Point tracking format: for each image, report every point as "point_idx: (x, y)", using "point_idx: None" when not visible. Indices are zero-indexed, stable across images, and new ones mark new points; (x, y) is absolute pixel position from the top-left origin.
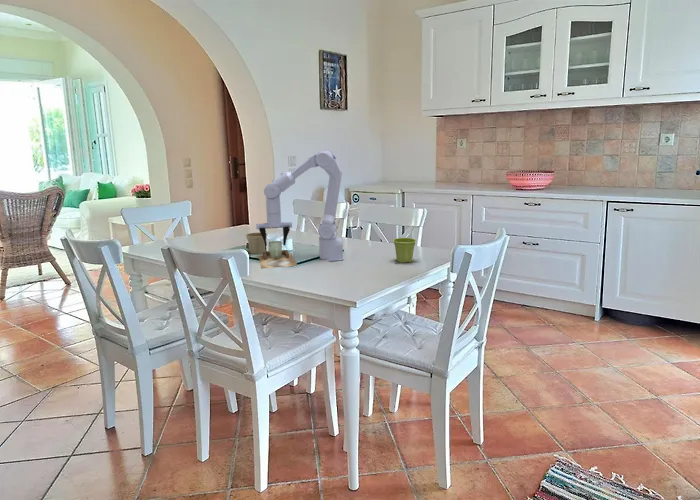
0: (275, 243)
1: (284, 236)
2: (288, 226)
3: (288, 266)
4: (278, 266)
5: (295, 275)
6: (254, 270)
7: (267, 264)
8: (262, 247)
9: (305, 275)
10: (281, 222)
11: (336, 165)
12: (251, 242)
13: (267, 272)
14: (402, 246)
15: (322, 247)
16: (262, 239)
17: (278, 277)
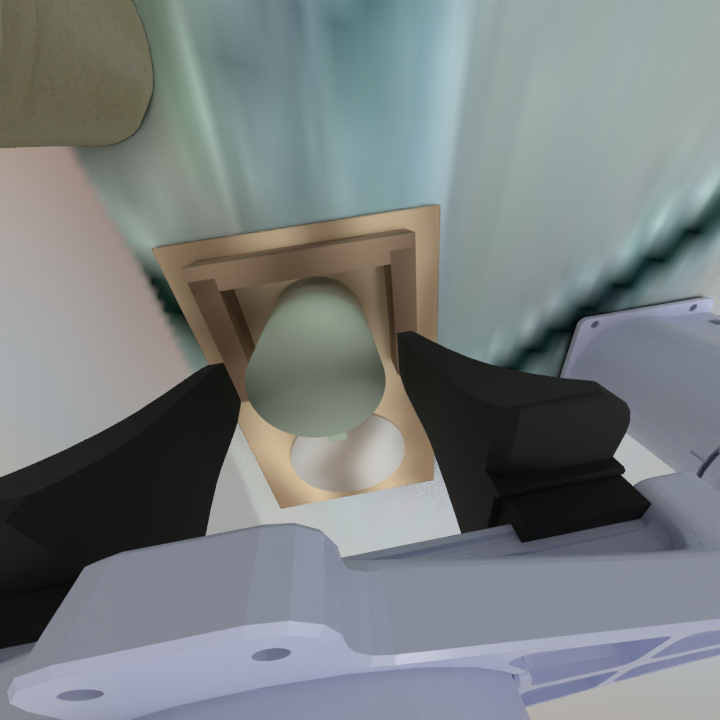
0: (328, 434)
1: (438, 454)
2: (611, 546)
3: (395, 486)
4: (352, 488)
5: (411, 534)
6: (251, 499)
7: (298, 476)
8: (104, 105)
9: (441, 533)
10: (576, 644)
11: None
12: None
13: (312, 516)
14: None
15: (637, 441)
16: (19, 108)
17: (357, 549)
